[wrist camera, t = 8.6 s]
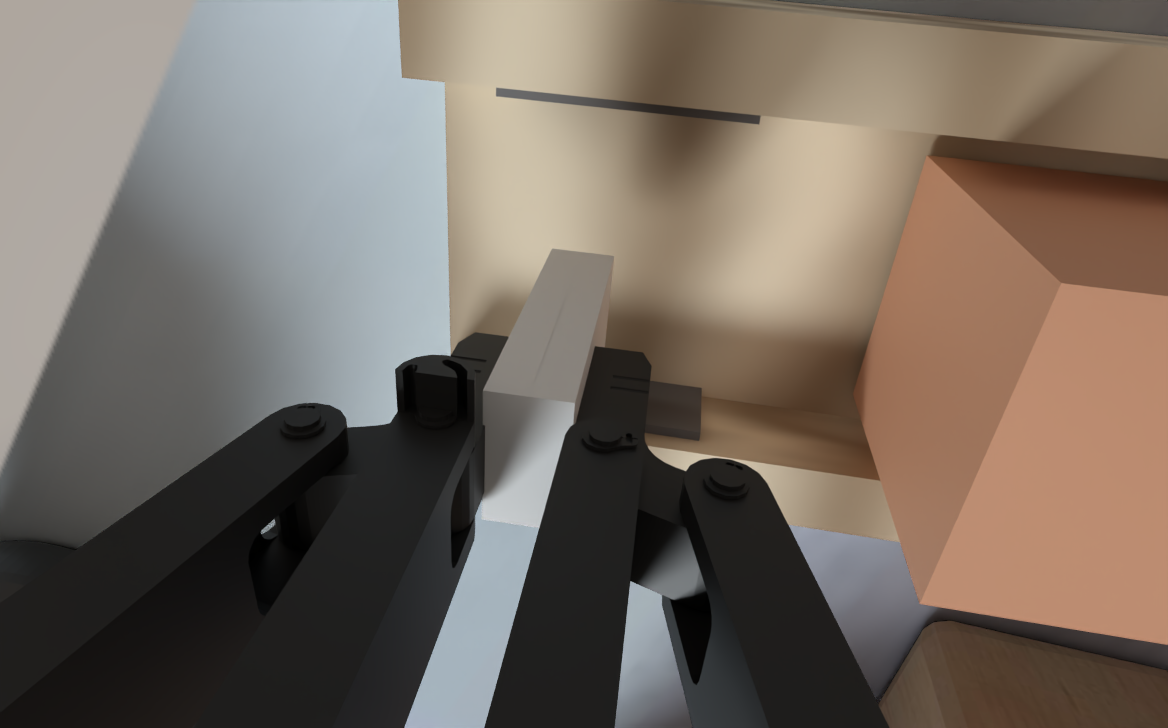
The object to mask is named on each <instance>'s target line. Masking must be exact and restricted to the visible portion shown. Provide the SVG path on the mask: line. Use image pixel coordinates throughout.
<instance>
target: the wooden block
mask: <svg viewBox="0 0 1168 728" xmlns="http://www.w3.org/2000/svg"><path fill="white" fill-rule="evenodd" d="M878 705H879V707H880V709H881V711H882V713H883V715H884V717H885V719H886V721H887V723H888V725H889V727H890V728H1168V671H1167V670H1163V669H1158V668H1154V667H1150V666H1145V665H1141V664H1137V663H1132V662H1128V661H1124V660H1119V659H1115V658H1111V657H1106V656H1102V655H1097V654H1093V653H1089V652H1084V651H1080V650H1076V649H1071V648H1067V647H1063V646H1058V645H1054V644H1050V643H1045V642H1041V641H1037V640H1032V639H1028V638H1024V637H1019V636H1015V635H1011V634H1006V633H1002V632H997V631H993V630H989V629H984V628H980V627H976V626H971V625H967V624H963V623H958V622H954V621H942V622H934V623H932V624H930V625H929V626H927V627H926V628H924V629H923V630H922V632H921V634H920V635H919V637H918V639H917V640H916V642H915V644H914V645H913V647H912V649H911V650H910V652H909V654H908V655H907V657H906V659H905V660H904V662H903V664H902V665H901V667H900V669H899V670H898V672H897V674H896V675H895V677H894V679H893V680H892V682H891V684H890V685H889V687H888V689H887V690H886V692H885V694H884V695H883V697H882V699H881V700H880V702H879V704H878Z"/></svg>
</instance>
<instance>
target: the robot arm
mask: <svg viewBox="0 0 1168 728" xmlns="http://www.w3.org/2000/svg"><path fill="white" fill-rule="evenodd" d="M613 263H614V256H610V255H602V254H594V253H586V252H577V251H569V250H561V249H553V248H552V250H551V252H550V254H549V256H548V258H547V260H546V262H545V264H544V266H543V268H542V270H541V272H540V274H539V276H538V278H537V280H536V282H535V285H534V287H533V289H532V291H531V293H530V295H529V297H528V299H527V301H526V303H525V305H524V307H523V309H522V311H521V313H520V315H519V317H518V319H517V321H516V323H515V326H514V328H513V330H512V332H511V334H510V336H509V337H508V336H501V335H493V334H485V333H478V332H475V333H473V334H471V335H470V336H468V337H466V338H465V339H463V340H462V341H460V342H458V344H457V346H456V347H455V349H454V351H453V352H452V354H451V356H447V355H428V356H421V357H416V358H413V359H411V360H408V361H406V362H403V363H402V364H401V365H400V366H399V367H398V368H396V369H395V374H396V390H397V407H398V412H397V414H396V415H395V417H394V418H393V420H392V421H391V423H389V424H385V425H378V426H367V427H350V428H347V423H346V418H345V416H344V415H343V413H342V412H341V411H340V410H338V409H336V408H334V407H332V406H330V405H324V404H318V403H308V404H307V403H303V404H297V405H293V406H289V407H286V408H283V409H281V410H279V411H277V412H275V413H273V414H271V415H269V416H268V417H266V418H265V419H264V420H262V421H261V422H259V423H258V424H256V425H255V426H254V427H252V428H251V429H249V430H248V431H246V432H245V433H243V434H242V435H241V436H239V437H238V438H236V439H235V440H233V441H232V442H231V443H229V444H228V445H226V446H225V447H223V448H222V449H221V450H219V451H218V452H216V453H215V454H213V455H212V456H210V457H209V458H208V459H206V460H205V461H203V462H202V463H200V464H199V465H198V466H196V467H195V468H193V469H192V470H190V471H189V472H187V473H186V474H185V475H183V476H182V477H180V478H179V479H177V480H176V481H175V482H173V483H172V484H170V485H169V486H167V487H166V488H164V489H163V490H162V491H160V492H159V493H157V494H156V495H154V496H153V497H152V498H150V499H149V500H147V501H146V502H144V503H143V504H141V505H140V506H139V507H137V508H136V509H134V510H133V511H131V512H130V513H129V514H127V515H126V516H124V517H123V518H121V519H120V520H119V521H117V522H116V523H114V524H113V525H111V526H110V527H108V528H107V529H106V530H104V531H103V532H101V533H100V534H98V535H97V536H96V537H94V538H93V539H91V540H90V541H88V542H87V543H85V544H84V545H83V546H81V547H80V548H78V549H77V550H73V549H69V548H65V547H61V546H57V545H52V544H46V543H39V542H30V541H3V542H0V728H404V726H405V724H406V721H407V718H408V716H409V713H410V710H411V708H412V705H413V702H414V700H415V697H416V694H417V692H418V689H419V686H420V684H421V681H422V678H423V676H424V673H425V670H426V668H427V665H428V662H429V660H430V657H431V654H432V651H433V649H434V646H435V643H436V641H437V638H438V635H439V633H440V630H441V627H442V625H443V622H444V619H445V617H446V614H447V611H448V609H449V606H450V603H451V601H452V598H453V595H454V593H455V590H456V587H457V585H458V582H459V579H460V576H461V574H462V571H463V568H464V566H465V563H466V560H467V558H468V555H469V552H470V550H471V547H472V544H473V542H474V536H475V515H476V512H477V510H478V507H479V505H480V502H481V499H482V519H483V520H489V521H496V522H503V523H509V524H516V525H523V526H529V527H536V528H539V531H538V535H537V539H536V542H535V546H534V549H533V553H532V557H531V560H530V564H529V568H528V571H527V575H526V579H525V582H524V586H523V589H522V593H521V597H520V600H519V604H518V608H517V611H516V615H515V619H514V622H513V626H512V629H511V633H510V637H509V640H508V644H507V648H506V651H505V655H504V658H503V662H502V666H501V669H500V673H499V677H498V680H497V684H496V688H495V691H494V695H493V698H492V702H491V706H490V709H489V713H488V717H487V720H486V724H485V728H615V719H616V709H617V700H618V690H619V681H620V672H621V662H622V653H623V643H624V634H625V625H626V615H627V606H628V596H629V587H630V581H632V582H634V583H636V584H639V585H641V586H643V587H645V588H648V589H650V590H652V591H655V592H657V593H659V594H661V595H662V606H663V610H664V614H665V618H666V622H667V626H668V630H669V634H670V638H671V642H672V646H673V650H674V654H675V658H676V662H677V666H678V670H679V674H680V678H681V682H682V686H683V690H684V694H685V698H686V702H687V706H688V710H689V714H690V718H691V722H692V726H693V728H890V727H889V725H888V723H887V721H886V719H885V717H884V715H883V713H882V711H881V709H880V707H879V705H878V703H877V701H876V699H875V697H874V695H873V693H872V691H871V689H870V687H869V685H868V683H867V681H866V679H865V677H864V675H863V673H862V671H861V669H860V667H859V665H858V663H857V661H856V659H855V657H854V655H853V653H852V651H851V649H850V647H849V645H848V643H847V641H846V639H845V637H844V635H843V633H842V631H841V629H840V627H839V625H838V623H837V621H836V619H835V617H834V615H833V613H832V611H831V609H830V607H829V605H828V603H827V601H826V599H825V597H824V595H823V593H822V591H821V589H820V587H819V585H818V583H817V581H816V579H815V577H814V575H813V573H812V571H811V569H810V567H809V565H808V563H807V561H806V559H805V557H804V555H803V553H802V551H801V549H800V547H799V545H798V543H797V541H796V539H795V537H794V535H793V533H792V531H791V529H790V527H789V525H788V523H787V521H786V519H785V517H784V515H783V513H782V511H781V509H780V507H779V505H778V503H777V501H776V499H775V497H774V495H773V493H772V491H771V489H770V487H769V485H768V484H767V482H766V481H765V480H764V479H763V477H762V476H761V475H760V474H759V473H758V472H757V471H755V470H753V469H752V468H750V467H749V466H747V465H745V464H742V463H740V462H737V461H734V460H731V459H722V458H709V459H702V460H699V461H697V462H695V463H693V464H691V465H690V466H689V467H688V469H687V470H686V471H684V470H681V469H679V468H676V467H674V466H672V465H669V464H667V463H665V462H663V461H662V460H660V459H659V458H658V457H656V456H655V455H654V454H653V453H652V452H651V451H650V450H649V448H648V446H647V444H646V442H645V426H646V416H647V406H648V397H649V387H650V377H651V368H652V366H651V364H650V363H649V361H648V360H647V358H646V356H645V355H644V353H643V352H636V351H628V350H621V349H613V348H606V347H605V340H606V331H607V321H608V312H609V302H610V292H611V283H612V273H613ZM273 519H275V523H276V525H274V526H273V527H272V528H271V529H270V530H269V531H267V532H266V533H264V534H261V530H262V529H263V528H264V527H265V526H266V525H268V524H269V523H270V522H271V521H272V520H273Z"/></svg>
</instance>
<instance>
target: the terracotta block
mask: <svg viewBox="0 0 1168 728" xmlns="http://www.w3.org/2000/svg"><path fill="white" fill-rule="evenodd" d="M853 396H854V400H855V403H856V406H857V409H858V412H859V415H860V418H861V422H862V425H863V428H864V431H865V434H866V437H867V440H868V443H869V447H870V450H871V453H872V456H873V459H874V462H875V465H876V469H877V472H878V475H879V478H880V481H881V484H882V487H883V490H884V494H885V497H886V500H887V503H888V506H889V509H890V512H891V516H892V519H893V522H894V525H895V528H896V531H897V534H898V537H899V541H900V544H901V547H902V550H903V553H904V556H905V559H906V563H907V566H908V569H909V572H910V575H911V578H912V581H913V584H914V588H915V591H916V594H917V597H918V600H919V603H920V604H923V605H929V606H935V607H941V608H947V609H953V610H959V611H965V612H971V613H977V614H984V615H990V616H996V617H1002V618H1008V619H1014V620H1020V621H1026V622H1032V623H1038V624H1044V625H1050V626H1056V627H1062V628H1068V629H1074V630H1080V631H1086V632H1093V633H1099V634H1105V635H1111V636H1117V637H1123V638H1129V639H1135V640H1141V641H1147V642H1153V643H1159V644H1165V645H1168V181H1158V180H1149V179H1140V178H1131V177H1122V176H1112V175H1103V174H1094V173H1085V172H1076V171H1067V170H1057V169H1048V168H1039V167H1030V166H1021V165H1011V164H1002V163H993V162H984V161H975V160H965V159H956V158H947V157H938V156H929V155H927V156H926V159H925V162H924V165H923V169H922V172H921V175H920V178H919V182H918V185H917V188H916V191H915V195H914V198H913V201H912V204H911V207H910V211H909V214H908V217H907V220H906V224H905V227H904V230H903V233H902V237H901V240H900V243H899V246H898V249H897V253H896V256H895V259H894V262H893V266H892V269H891V272H890V275H889V279H888V282H887V285H886V288H885V291H884V295H883V298H882V301H881V304H880V308H879V311H878V314H877V317H876V321H875V324H874V327H873V330H872V333H871V337H870V340H869V343H868V346H867V350H866V353H865V356H864V359H863V363H862V366H861V369H860V372H859V375H858V379H857V382H856V385H855V388H854V392H853Z"/></svg>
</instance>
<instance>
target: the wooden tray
mask: <svg viewBox="0 0 1168 728" xmlns="http://www.w3.org/2000/svg"><path fill="white" fill-rule="evenodd" d="M398 7H399V27H400V48H401V68H402V78H411V79H420V80H430V81H439V82H445V110H446V156H447V202H448V249H449V295H450V341H451V354H452V352H453V351H454V349H455V347H456V346H457V344H458V342H460V341H462V340H463V339H465V338H466V337H468V336H470V335H471V334H473V333H475V332H478V333H485V334H493V335H501V336H508V337H509V336H510V334H511V332H512V330H513V328H514V326H515V323H516V321H517V319H518V317H519V315H520V313H521V311H522V309H523V307H524V305H525V303H526V301H527V299H528V297H529V295H530V293H531V291H532V289H533V287H534V285H535V282H536V280H537V278H538V276H539V274H540V272H541V270H542V268H543V266H544V264H545V262H546V260H547V258H548V256H549V254H550V252H551V250H552V248H553V249H561V250H569V251H577V252H586V253H594V254H602V255H610V256H614V263H613V273H612V283H611V292H610V302H609V312H608V321H607V331H606V340H605V347H606V348H613V349H621V350H628V351H636V352H643V353H644V355H645V356H646V358H647V360H648V361H649V363H650V364H651V366H652V368H651V377H650V387H649V397H648V406H647V416H646V426H645V442H646V444H647V446H648V448H649V450H650V451H651V452H652V453H653V454H654V455H655V456H656V457H658V458H659V459H660V460H662V461H663V462H665V463H667V464H669V465H672V466H674V467H676V468H679V469H681V470H684V471H686V470H687V469H688V467H689V466H690V465H691V464H693V463H695V462H697V461H699V460H702V459H709V458H722V459H731V460H734V461H737V462H740V463H742V464H745V465H747V466H749V467H750V468H752V469H753V470H755V471H757V472H758V473H759V474H760V475H761V476H762V477H763V479H764V480H765V481H766V482H767V484H768V485H769V487H770V489H771V491H772V493H773V495H774V497H775V499H776V501H777V503H778V505H779V507H780V509H781V511H782V513H783V515H784V517H785V519H786V521H787V523H788V525H794V526H801V527H807V528H813V529H820V530H826V531H832V532H839V533H845V534H851V535H858V536H864V537H870V538H877V539H883V540H889V541H896V542H900V541H899V537H898V534H897V531H896V528H895V525H894V522H893V519H892V516H891V512H890V509H889V506H888V503H887V500H886V497H885V494H884V490H883V487H882V484H881V481H880V478H879V475H878V472H877V469H876V465H875V462H874V459H873V456H872V453H871V450H870V447H869V443H868V440H867V437H866V434H865V431H864V428H863V425H862V422H861V418H860V415H859V412H858V409H857V406H856V403H855V400H854V396H853V392H854V388H855V385H856V382H857V379H858V375H859V372H860V369H861V366H862V363H863V359H864V356H865V353H866V350H867V346H868V343H869V340H870V337H871V333H872V330H873V327H874V324H875V321H876V317H877V314H878V311H879V308H880V304H881V301H882V298H883V295H884V291H885V288H886V285H887V282H888V279H889V275H890V272H891V269H892V266H893V262H894V259H895V256H896V253H897V249H898V246H899V243H900V240H901V237H902V233H903V230H904V227H905V224H906V220H907V217H908V214H909V211H910V207H911V204H912V201H913V198H914V195H915V191H916V188H917V185H918V182H919V178H920V175H921V172H922V169H923V165H924V162H925V159H926V156H927V155H929V156H938V157H947V158H956V159H965V160H975V161H984V162H993V163H1002V164H1011V165H1021V166H1030V167H1039V168H1048V169H1057V170H1067V171H1076V172H1085V173H1094V174H1103V175H1112V176H1122V177H1131V178H1140V179H1149V180H1158V181H1168V37H1166V36H1155V35H1144V34H1133V33H1123V32H1112V31H1101V30H1090V29H1079V28H1068V27H1057V26H1046V25H1035V24H1024V23H1013V22H1002V21H991V20H980V19H969V18H958V17H947V16H936V15H925V14H914V13H903V12H892V11H881V10H870V9H859V8H848V7H837V6H826V5H816V4H805V3H794V2H783V1H772V0H398Z"/></svg>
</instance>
